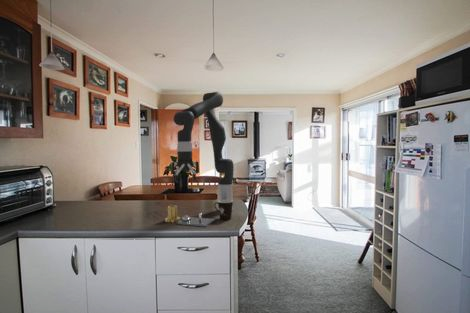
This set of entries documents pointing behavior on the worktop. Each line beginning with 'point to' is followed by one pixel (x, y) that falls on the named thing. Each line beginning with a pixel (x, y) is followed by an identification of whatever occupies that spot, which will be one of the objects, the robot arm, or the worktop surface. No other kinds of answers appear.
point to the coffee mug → (224, 209)
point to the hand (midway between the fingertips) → (185, 181)
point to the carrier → (195, 221)
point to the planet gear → (172, 214)
